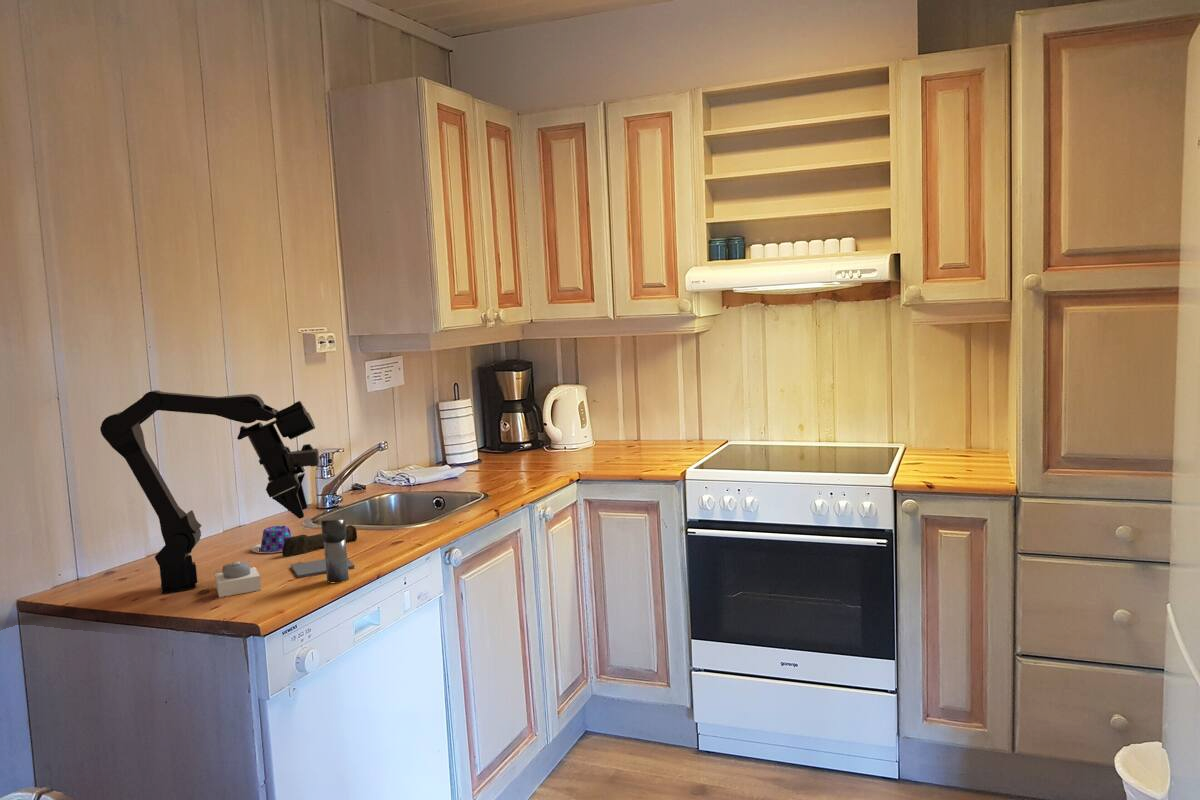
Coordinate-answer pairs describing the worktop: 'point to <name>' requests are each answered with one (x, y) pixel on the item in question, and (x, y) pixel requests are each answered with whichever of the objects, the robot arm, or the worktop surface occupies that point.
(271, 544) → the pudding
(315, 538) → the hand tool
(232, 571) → the block
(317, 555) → the worktop surface
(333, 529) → the grey upright cylinder
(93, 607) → the worktop surface
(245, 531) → the worktop surface
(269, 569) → the worktop surface
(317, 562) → the rest mat
